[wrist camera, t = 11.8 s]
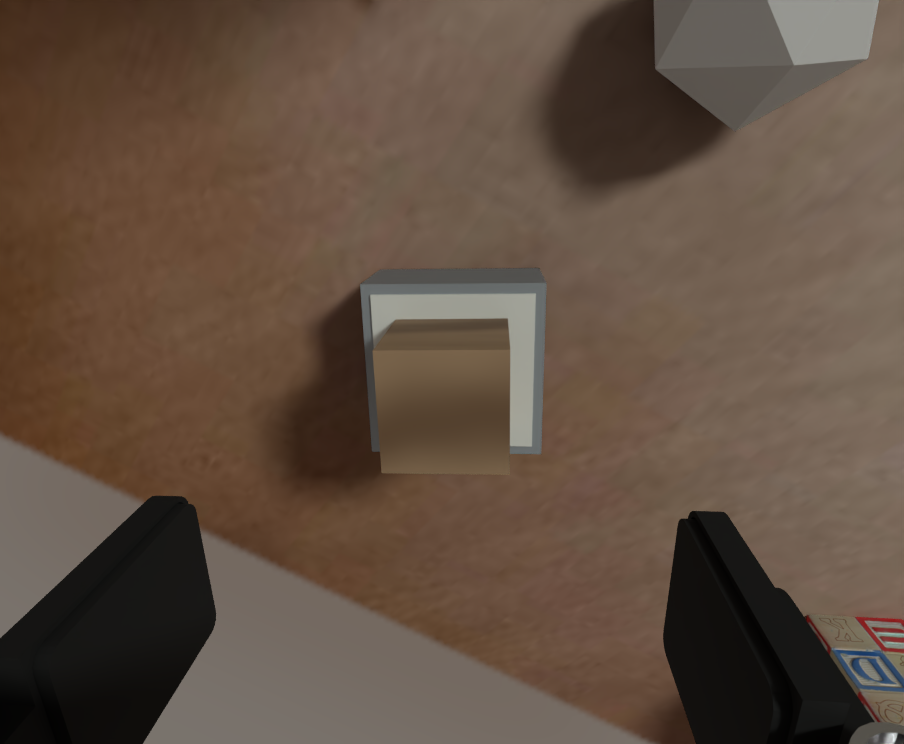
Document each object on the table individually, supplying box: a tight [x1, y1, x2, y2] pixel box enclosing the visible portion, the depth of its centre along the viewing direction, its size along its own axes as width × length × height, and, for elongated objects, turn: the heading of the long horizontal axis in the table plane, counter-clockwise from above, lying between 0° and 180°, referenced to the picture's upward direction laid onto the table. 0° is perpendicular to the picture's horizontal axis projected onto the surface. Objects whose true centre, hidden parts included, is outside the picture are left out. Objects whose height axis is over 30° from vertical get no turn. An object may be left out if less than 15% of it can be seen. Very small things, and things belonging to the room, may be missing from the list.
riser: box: [360, 268, 546, 454], centre depth 31 cm, size 9×9×5 cm
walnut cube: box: [373, 318, 510, 475], centre depth 26 cm, size 6×6×6 cm
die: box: [654, 0, 879, 131], centre depth 24 cm, size 8×9×10 cm
